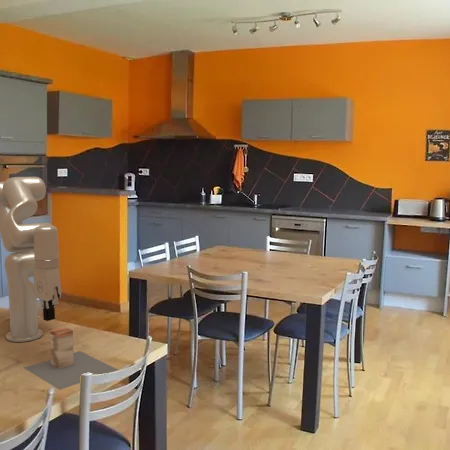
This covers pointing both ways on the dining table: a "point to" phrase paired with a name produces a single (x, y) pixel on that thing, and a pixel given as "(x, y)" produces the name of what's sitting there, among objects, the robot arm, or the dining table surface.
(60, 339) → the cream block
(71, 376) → the mat
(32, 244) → the robot arm
